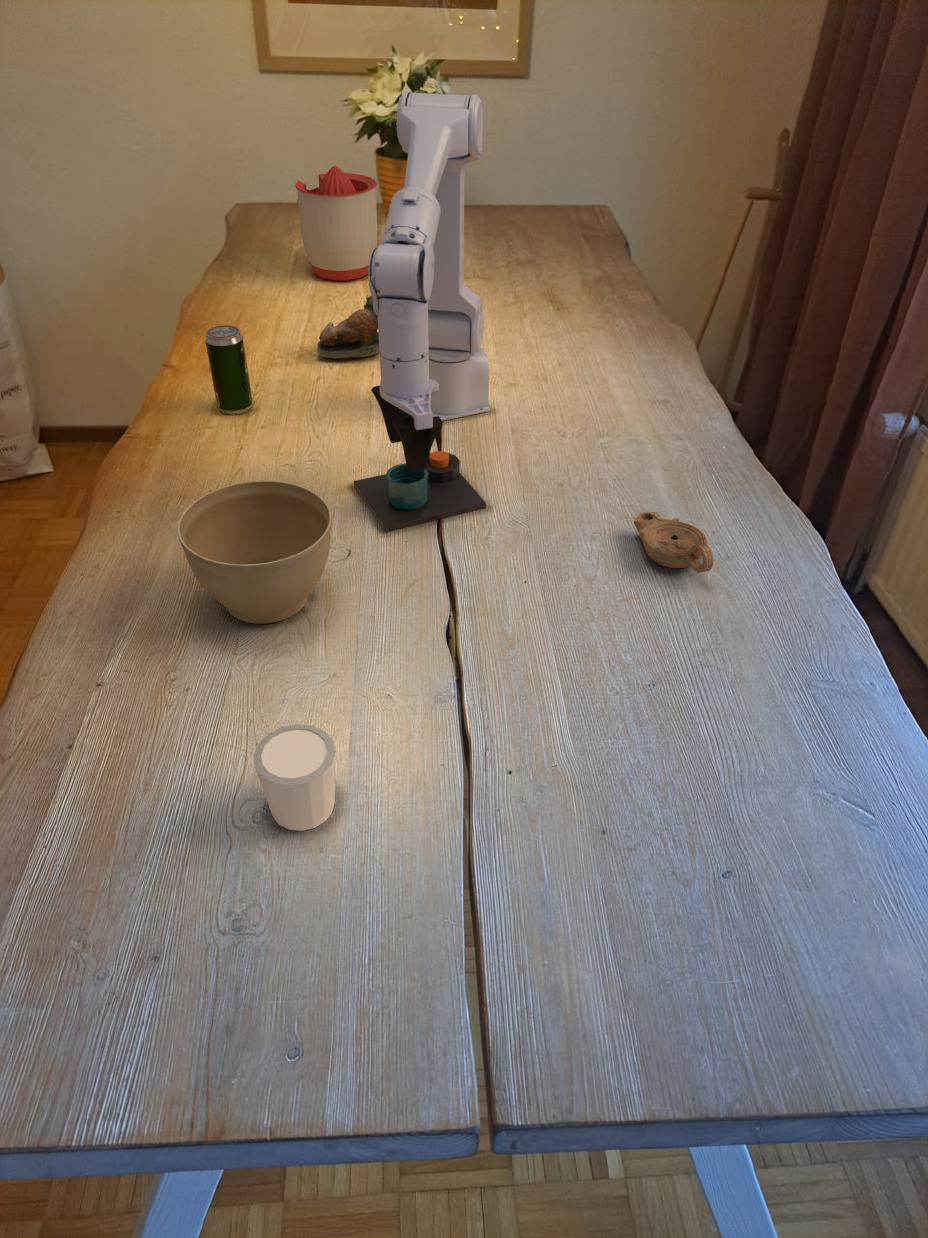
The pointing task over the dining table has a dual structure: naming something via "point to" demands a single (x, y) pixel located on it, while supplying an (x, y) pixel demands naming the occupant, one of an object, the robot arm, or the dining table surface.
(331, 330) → the bison figurine
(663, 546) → the oil lamp
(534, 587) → the dining table surface
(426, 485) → the teal cup
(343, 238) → the citrus juicer
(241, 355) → the beer can
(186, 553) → the planter bowl
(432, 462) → the button
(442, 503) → the scale
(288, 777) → the beige cylinder
